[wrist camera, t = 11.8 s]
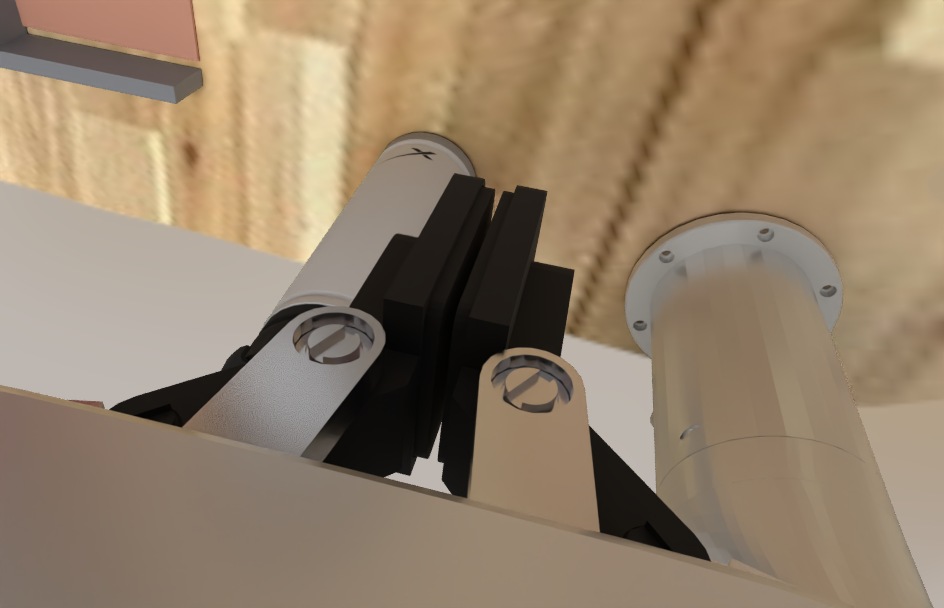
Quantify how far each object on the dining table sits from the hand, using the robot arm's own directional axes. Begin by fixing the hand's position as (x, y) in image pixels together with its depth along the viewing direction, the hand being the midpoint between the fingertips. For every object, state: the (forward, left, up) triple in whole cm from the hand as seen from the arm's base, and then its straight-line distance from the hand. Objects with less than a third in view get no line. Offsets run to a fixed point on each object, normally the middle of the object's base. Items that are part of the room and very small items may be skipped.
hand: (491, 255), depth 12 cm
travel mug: (-13, +7, -26) cm, 29 cm away
